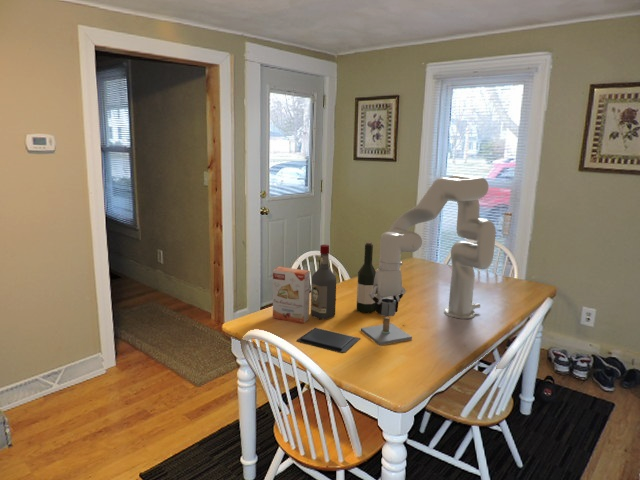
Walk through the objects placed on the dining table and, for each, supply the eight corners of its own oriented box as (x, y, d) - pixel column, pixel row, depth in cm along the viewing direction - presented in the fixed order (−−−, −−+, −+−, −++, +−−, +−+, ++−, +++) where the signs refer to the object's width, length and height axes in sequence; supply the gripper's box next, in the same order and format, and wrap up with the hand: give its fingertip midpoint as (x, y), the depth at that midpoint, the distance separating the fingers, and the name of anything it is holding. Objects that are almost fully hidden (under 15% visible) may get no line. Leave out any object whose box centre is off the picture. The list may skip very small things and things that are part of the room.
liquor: (323, 309, 205) (324, 242, 198) (338, 315, 199) (340, 246, 192) (307, 314, 199) (308, 245, 192) (322, 321, 192) (324, 249, 186)
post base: (391, 325, 189) (392, 310, 188) (411, 339, 177) (412, 322, 175) (360, 330, 184) (361, 314, 182) (379, 345, 171) (380, 328, 170)
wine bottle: (362, 314, 200) (366, 245, 194) (352, 308, 207) (355, 241, 201) (379, 311, 204) (382, 244, 198) (368, 305, 211) (371, 240, 205)
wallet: (294, 337, 173) (315, 324, 186) (294, 342, 173) (315, 328, 186) (343, 351, 163) (362, 335, 176) (343, 356, 164) (361, 340, 177)
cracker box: (272, 318, 194) (272, 269, 189) (278, 313, 199) (278, 265, 195) (303, 324, 189) (304, 273, 184) (309, 319, 194) (310, 269, 190)
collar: (389, 309, 182) (389, 297, 181) (398, 315, 176) (399, 302, 175) (374, 311, 180) (375, 298, 179) (383, 317, 174) (384, 304, 173)
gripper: (403, 261, 181) (400, 306, 185) (363, 265, 174) (361, 311, 178) (415, 266, 174) (411, 312, 178) (374, 270, 167) (371, 318, 171)
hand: (386, 311), depth 178 cm, fingers closed on collar, 6 cm apart
